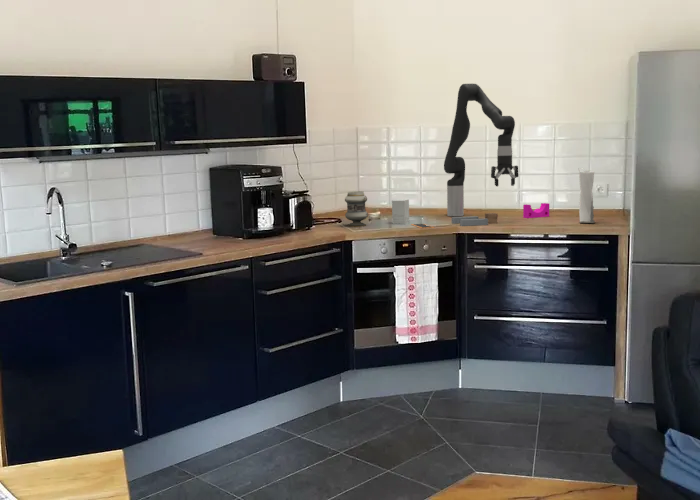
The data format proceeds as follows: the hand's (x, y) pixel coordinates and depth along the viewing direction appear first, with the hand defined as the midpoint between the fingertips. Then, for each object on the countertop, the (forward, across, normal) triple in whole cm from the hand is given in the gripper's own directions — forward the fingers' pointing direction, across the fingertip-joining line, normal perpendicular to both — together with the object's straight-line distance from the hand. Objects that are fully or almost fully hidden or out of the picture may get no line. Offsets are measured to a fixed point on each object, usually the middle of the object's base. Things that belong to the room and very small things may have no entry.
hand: (504, 186), depth 417 cm
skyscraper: (+19, -38, +14) cm, 45 cm away
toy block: (+20, -25, -19) cm, 37 cm away
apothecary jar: (+19, +76, -15) cm, 80 cm away
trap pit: (+19, +45, 0) cm, 49 cm away
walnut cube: (+19, +7, -1) cm, 21 cm away
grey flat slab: (+19, +19, 0) cm, 27 cm away
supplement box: (+19, +52, -18) cm, 58 cm away
